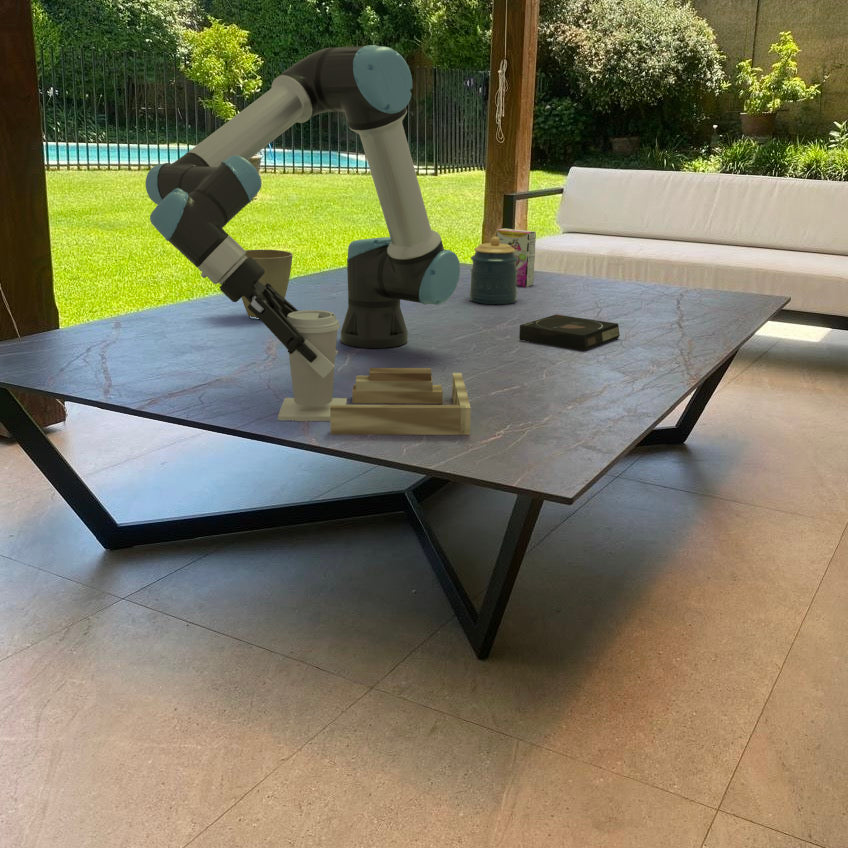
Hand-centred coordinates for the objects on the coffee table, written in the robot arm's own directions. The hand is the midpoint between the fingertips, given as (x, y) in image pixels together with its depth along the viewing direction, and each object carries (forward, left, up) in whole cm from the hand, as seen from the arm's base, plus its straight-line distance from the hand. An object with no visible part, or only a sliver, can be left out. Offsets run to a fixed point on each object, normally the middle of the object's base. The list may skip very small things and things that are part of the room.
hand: (331, 364), depth 166 cm
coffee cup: (0, -3, -7) cm, 7 cm away
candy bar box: (-132, +47, -9) cm, 141 cm away
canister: (-105, +38, -9) cm, 113 cm away
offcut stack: (-7, +11, -8) cm, 16 cm away
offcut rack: (+3, +11, -8) cm, 14 cm away
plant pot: (-80, -22, -8) cm, 84 cm away
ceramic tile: (0, -3, -8) cm, 9 cm away
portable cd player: (-57, +51, -9) cm, 78 cm away
